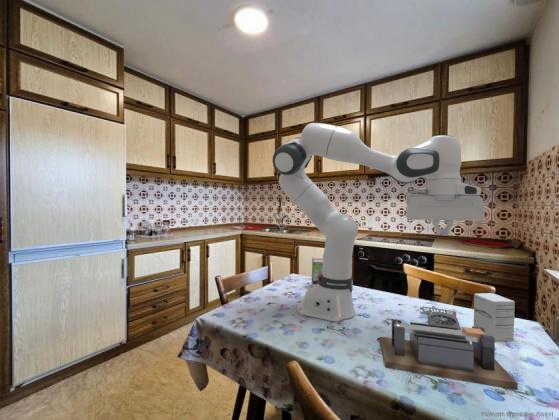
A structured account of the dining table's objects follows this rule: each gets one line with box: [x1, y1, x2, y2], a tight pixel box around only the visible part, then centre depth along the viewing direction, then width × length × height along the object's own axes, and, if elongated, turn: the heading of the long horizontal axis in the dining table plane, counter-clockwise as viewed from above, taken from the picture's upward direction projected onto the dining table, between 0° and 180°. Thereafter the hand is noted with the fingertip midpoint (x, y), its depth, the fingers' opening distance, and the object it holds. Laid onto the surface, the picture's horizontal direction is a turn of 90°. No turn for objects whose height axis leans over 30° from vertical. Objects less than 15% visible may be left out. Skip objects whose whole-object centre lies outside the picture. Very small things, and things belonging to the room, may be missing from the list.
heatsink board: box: [379, 318, 519, 391], centre depth 67 cm, size 28×13×10 cm, turn 74°
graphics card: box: [419, 305, 462, 330], centre depth 88 cm, size 17×4×12 cm
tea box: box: [311, 257, 323, 288], centre depth 126 cm, size 15×10×15 cm
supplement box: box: [473, 292, 516, 342], centre depth 81 cm, size 7×7×13 cm
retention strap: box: [394, 322, 487, 343], centre depth 67 cm, size 22×3×2 cm, turn 74°
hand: (442, 235), depth 76 cm, fingers closed
